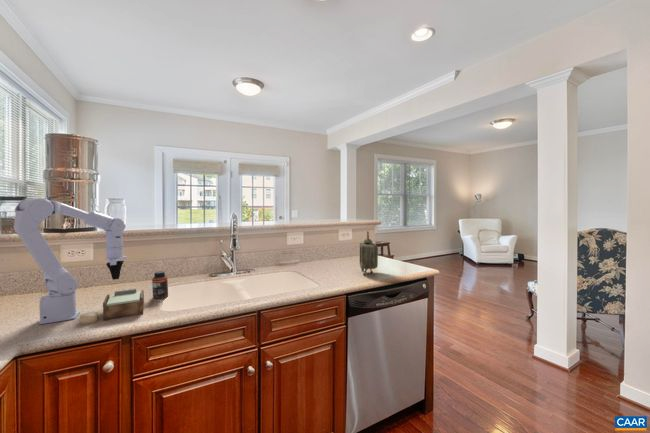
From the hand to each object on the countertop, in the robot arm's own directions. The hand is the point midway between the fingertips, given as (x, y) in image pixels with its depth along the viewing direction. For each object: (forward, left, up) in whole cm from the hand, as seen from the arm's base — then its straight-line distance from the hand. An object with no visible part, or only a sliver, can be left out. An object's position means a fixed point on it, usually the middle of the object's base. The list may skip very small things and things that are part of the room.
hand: (115, 278), depth 121 cm
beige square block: (-6, -19, -10) cm, 22 cm away
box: (+4, -15, -10) cm, 18 cm away
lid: (+4, -15, -5) cm, 16 cm away
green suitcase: (+122, -16, -10) cm, 123 cm away
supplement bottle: (+16, -2, -10) cm, 19 cm away
